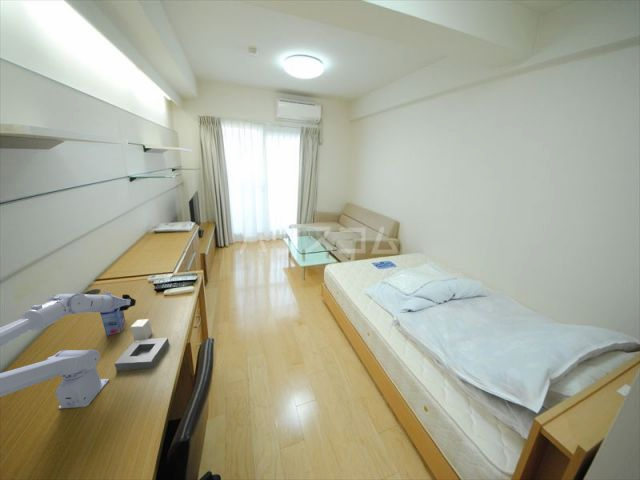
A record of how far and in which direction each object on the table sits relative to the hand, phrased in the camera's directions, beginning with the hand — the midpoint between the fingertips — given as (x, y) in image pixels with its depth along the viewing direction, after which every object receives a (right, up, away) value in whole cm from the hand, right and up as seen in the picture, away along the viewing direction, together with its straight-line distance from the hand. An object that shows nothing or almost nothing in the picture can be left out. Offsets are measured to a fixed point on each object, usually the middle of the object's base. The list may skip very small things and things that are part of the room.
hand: (124, 303), depth 93 cm
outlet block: (+9, -20, -1) cm, 22 cm away
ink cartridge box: (-14, -15, +14) cm, 25 cm away
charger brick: (+1, -16, +8) cm, 18 cm away
